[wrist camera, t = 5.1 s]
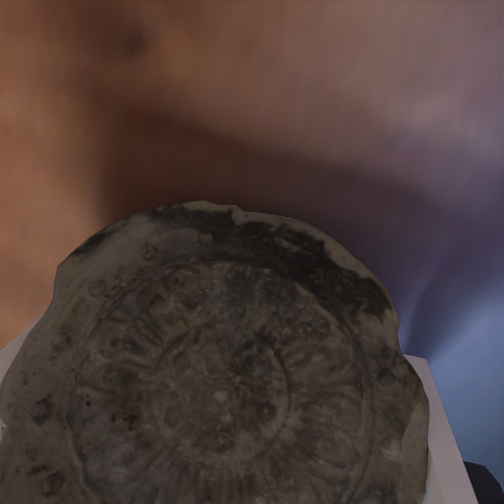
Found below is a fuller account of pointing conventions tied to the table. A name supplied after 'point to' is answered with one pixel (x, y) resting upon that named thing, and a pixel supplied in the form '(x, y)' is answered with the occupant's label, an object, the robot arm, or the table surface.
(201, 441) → the fossil
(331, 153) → the table surface
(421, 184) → the table surface
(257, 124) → the table surface
